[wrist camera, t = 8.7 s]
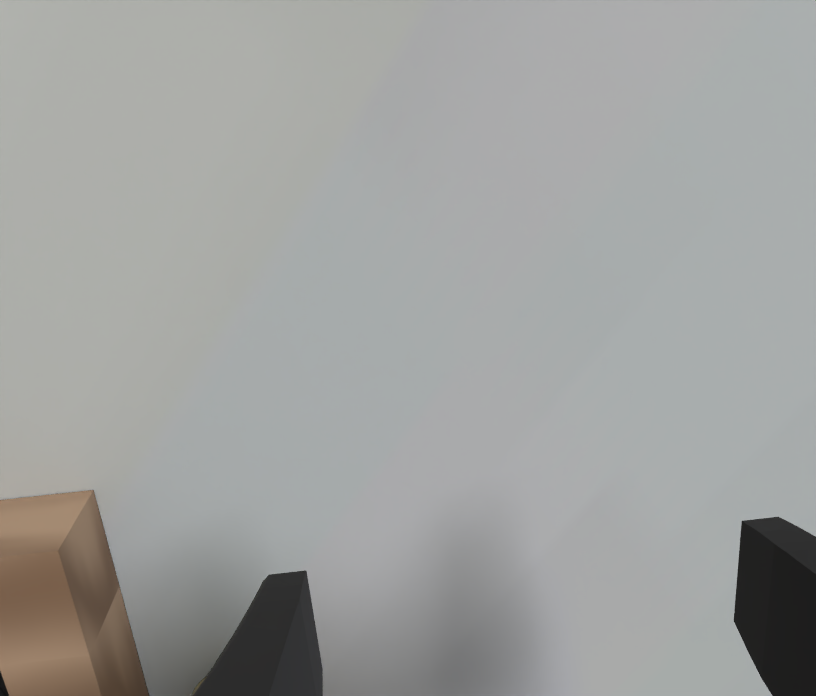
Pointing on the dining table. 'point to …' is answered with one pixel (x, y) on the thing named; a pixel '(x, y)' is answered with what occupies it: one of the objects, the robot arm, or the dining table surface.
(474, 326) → the dining table surface
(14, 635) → the collar block
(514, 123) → the dining table surface
